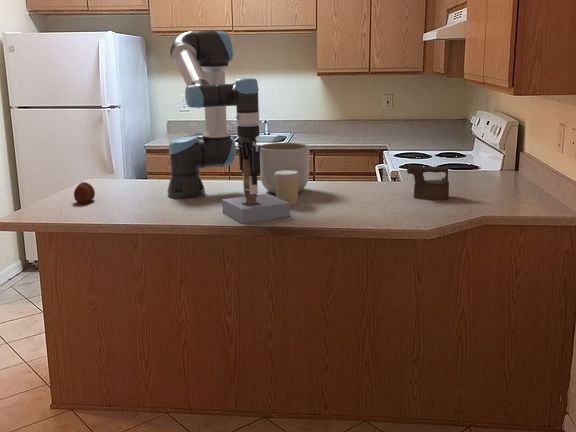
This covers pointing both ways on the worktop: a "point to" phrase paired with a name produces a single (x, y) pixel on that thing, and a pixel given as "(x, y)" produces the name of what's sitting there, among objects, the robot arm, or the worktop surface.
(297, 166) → the planter
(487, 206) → the worktop surface
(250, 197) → the peg
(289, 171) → the coffee cup
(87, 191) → the potato
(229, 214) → the board
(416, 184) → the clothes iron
